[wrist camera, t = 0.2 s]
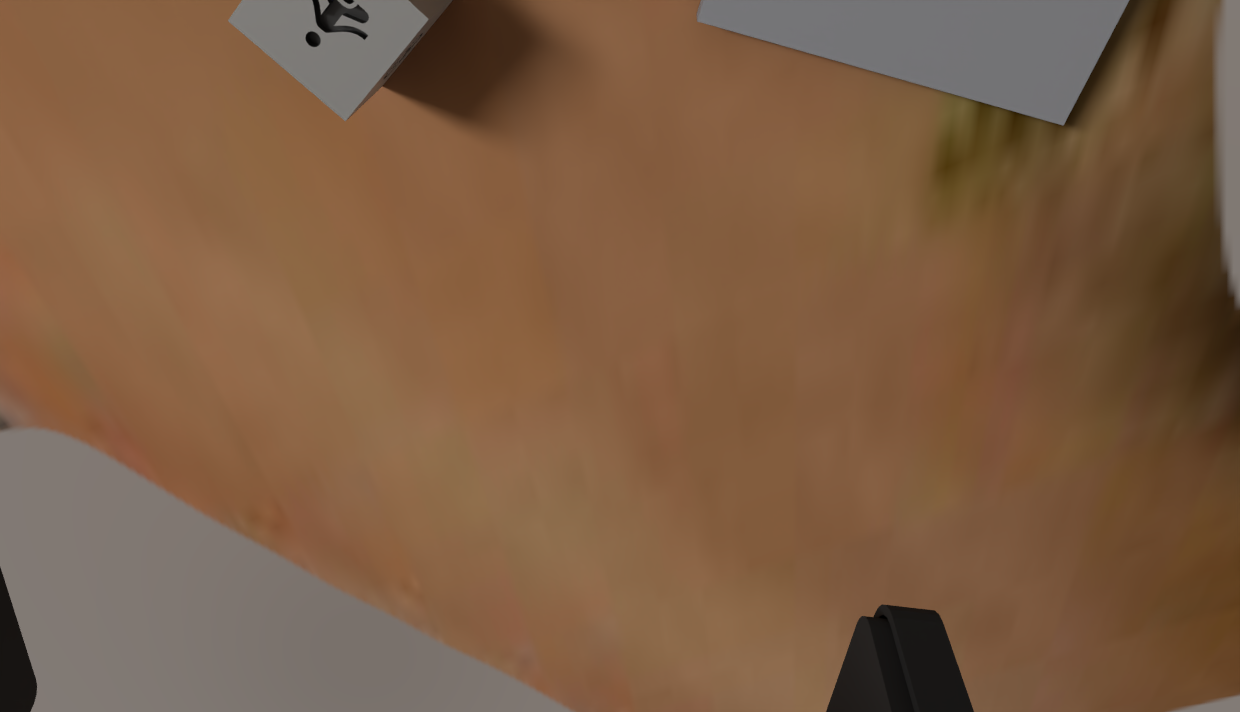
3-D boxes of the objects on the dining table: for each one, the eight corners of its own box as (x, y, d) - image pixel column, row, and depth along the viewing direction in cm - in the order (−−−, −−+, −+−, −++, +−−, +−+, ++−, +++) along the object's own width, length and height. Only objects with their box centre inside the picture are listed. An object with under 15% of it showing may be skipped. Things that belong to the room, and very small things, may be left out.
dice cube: (458, -6, 35) (429, 19, 31) (382, 85, 37) (345, 121, 33) (354, -106, 34) (308, -94, 29) (281, -5, 36) (228, 20, 31)
